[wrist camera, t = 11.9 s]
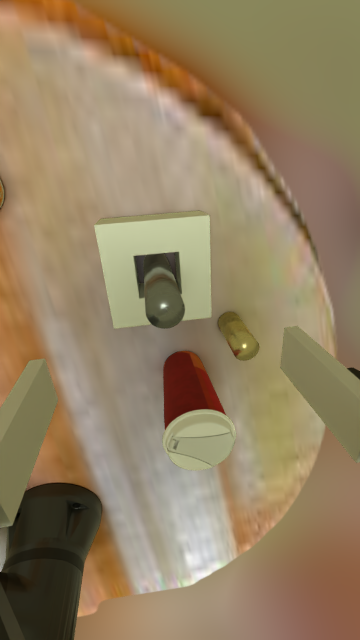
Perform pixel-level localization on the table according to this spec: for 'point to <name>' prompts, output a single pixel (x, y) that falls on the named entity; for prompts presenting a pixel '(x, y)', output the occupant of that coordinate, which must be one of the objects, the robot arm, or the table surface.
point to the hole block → (152, 238)
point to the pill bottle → (1, 194)
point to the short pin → (238, 336)
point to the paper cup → (193, 415)
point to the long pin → (161, 292)
